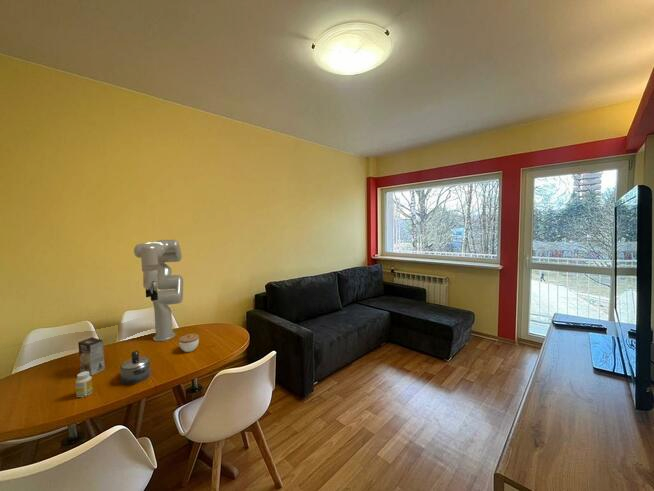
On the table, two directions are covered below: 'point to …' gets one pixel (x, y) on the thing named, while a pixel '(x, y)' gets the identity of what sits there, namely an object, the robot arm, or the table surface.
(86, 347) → the coffee box
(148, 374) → the pot
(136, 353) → the lid
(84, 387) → the supplement bottle
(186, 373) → the table surface
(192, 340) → the lidded jar
